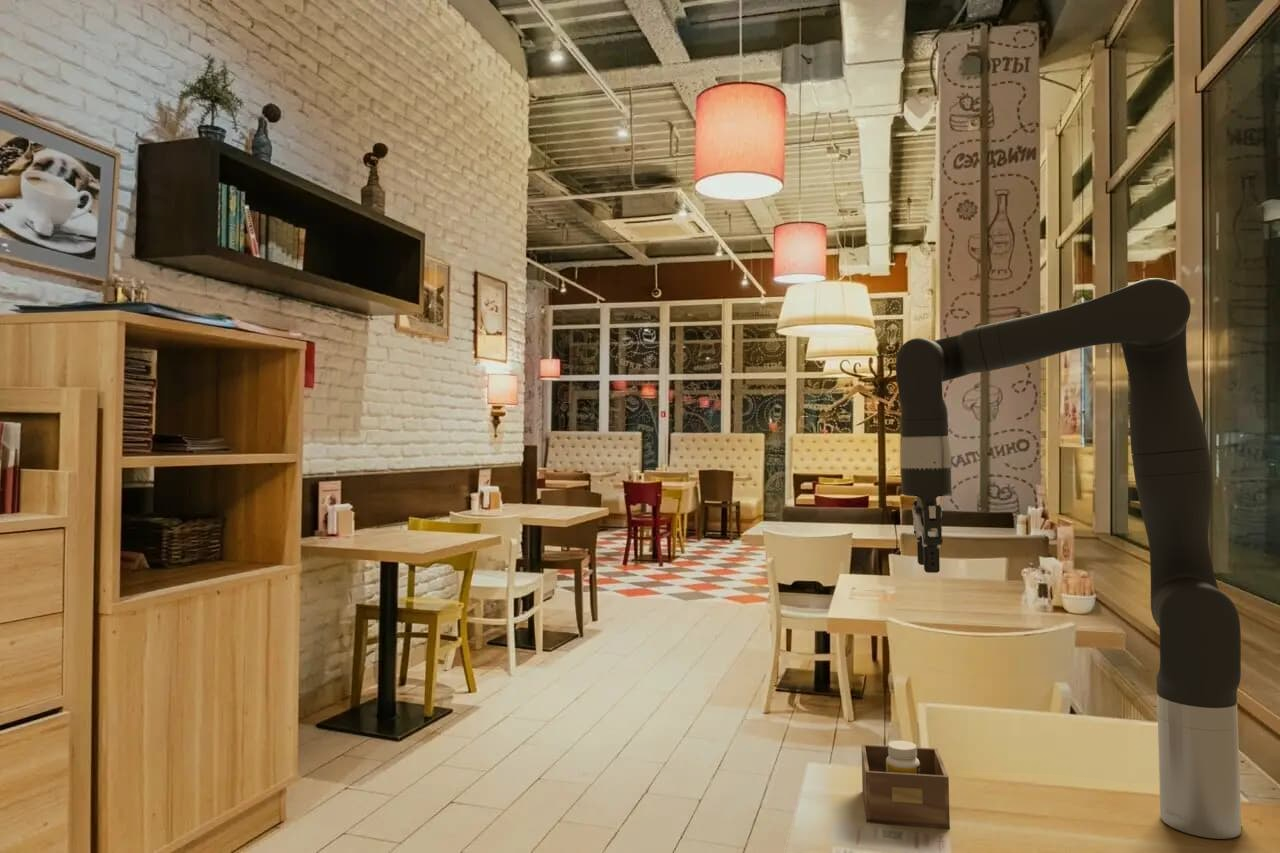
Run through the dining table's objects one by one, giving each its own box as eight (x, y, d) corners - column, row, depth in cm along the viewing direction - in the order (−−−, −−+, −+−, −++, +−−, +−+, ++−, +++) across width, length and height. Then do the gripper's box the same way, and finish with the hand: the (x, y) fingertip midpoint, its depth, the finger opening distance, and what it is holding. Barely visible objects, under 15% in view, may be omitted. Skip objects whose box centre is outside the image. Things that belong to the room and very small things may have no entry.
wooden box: (862, 790, 129) (861, 744, 129) (938, 795, 126) (937, 748, 127) (866, 823, 118) (865, 772, 118) (949, 829, 116) (948, 777, 116)
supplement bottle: (925, 810, 120) (923, 750, 120) (891, 810, 120) (889, 750, 120) (916, 797, 125) (914, 739, 125) (883, 796, 125) (881, 739, 125)
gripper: (957, 466, 126) (960, 575, 126) (944, 464, 140) (946, 562, 140) (905, 467, 127) (908, 575, 127) (896, 464, 141) (899, 561, 141)
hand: (928, 568), depth 133 cm, fingers open, 8 cm apart
